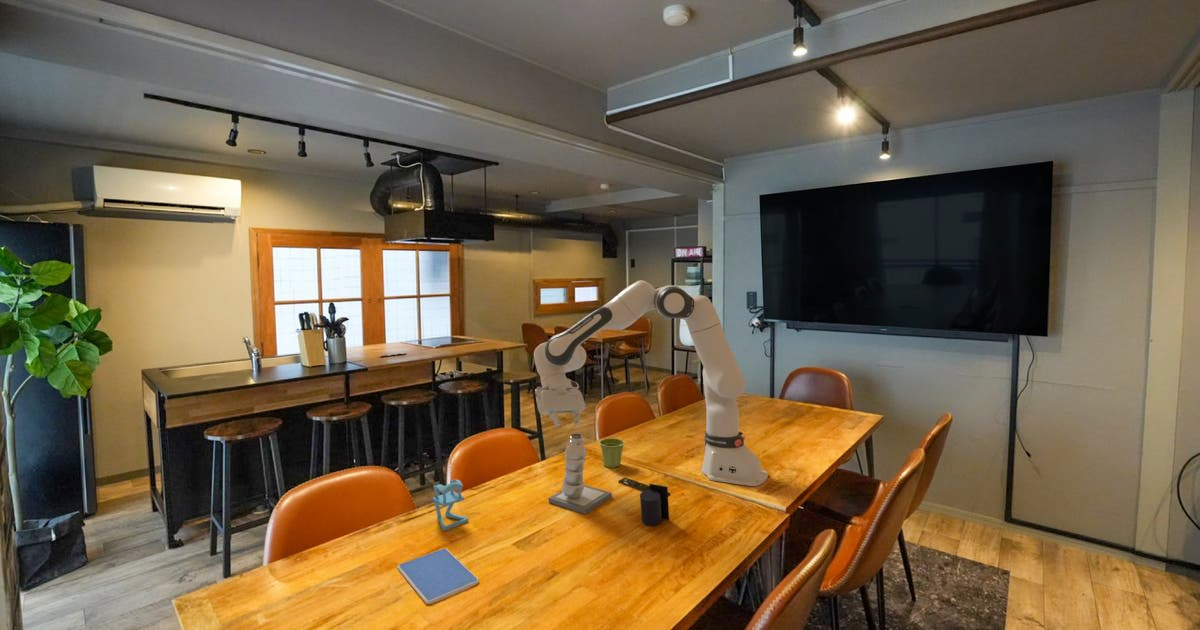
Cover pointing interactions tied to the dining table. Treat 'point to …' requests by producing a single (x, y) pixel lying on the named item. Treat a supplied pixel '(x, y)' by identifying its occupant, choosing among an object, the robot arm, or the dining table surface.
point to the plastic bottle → (574, 467)
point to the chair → (448, 502)
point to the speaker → (654, 505)
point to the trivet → (582, 500)
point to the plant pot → (611, 451)
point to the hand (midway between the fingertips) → (568, 424)
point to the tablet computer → (437, 575)
